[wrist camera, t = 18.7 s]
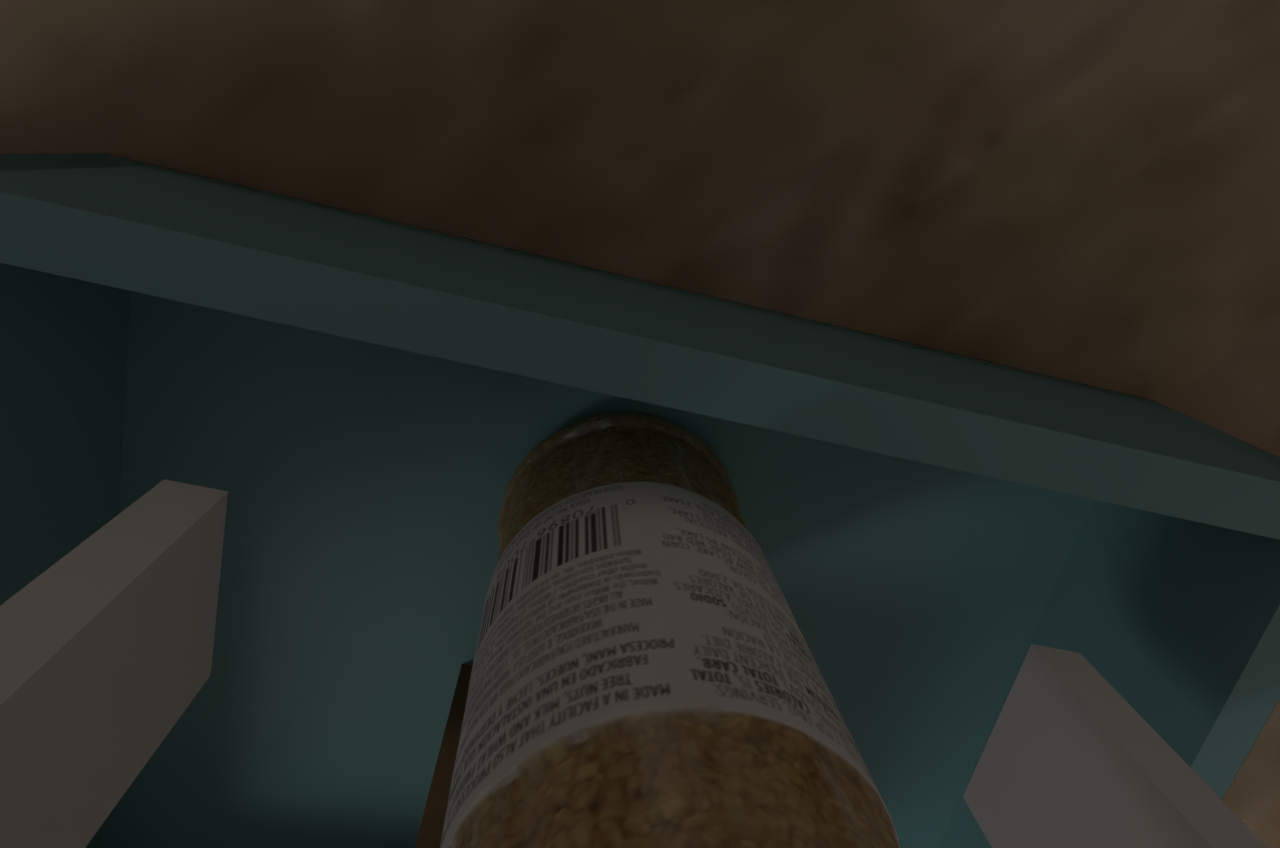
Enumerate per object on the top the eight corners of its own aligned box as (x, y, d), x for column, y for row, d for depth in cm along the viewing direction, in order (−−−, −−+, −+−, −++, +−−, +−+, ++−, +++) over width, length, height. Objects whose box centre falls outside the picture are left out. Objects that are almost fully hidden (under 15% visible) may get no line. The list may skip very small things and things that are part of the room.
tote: (77, 868, 18) (-103, 1119, 14) (105, 153, 14) (-156, 156, 9) (893, 974, 21) (982, 1219, 16) (1154, 401, 16) (1389, 506, 11)
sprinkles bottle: (560, 654, 16) (530, 2416, 4) (456, 461, 15) (-210, 2289, 2) (772, 568, 16) (1529, 2124, 3) (687, 362, 15) (1472, 1759, 2)
